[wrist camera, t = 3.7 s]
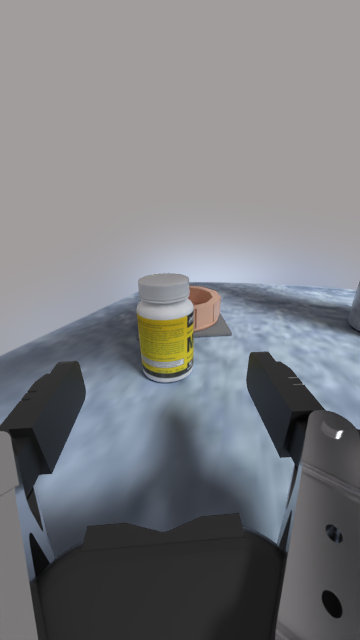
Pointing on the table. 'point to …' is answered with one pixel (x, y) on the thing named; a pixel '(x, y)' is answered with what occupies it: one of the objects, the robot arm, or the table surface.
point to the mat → (212, 330)
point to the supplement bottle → (165, 327)
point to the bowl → (204, 307)
